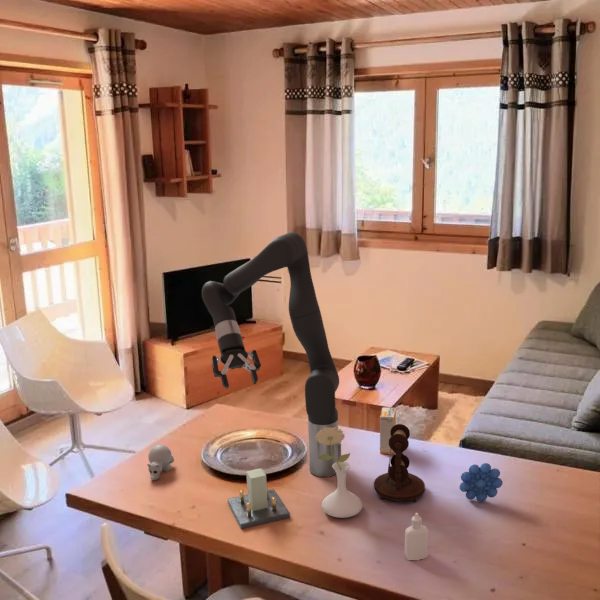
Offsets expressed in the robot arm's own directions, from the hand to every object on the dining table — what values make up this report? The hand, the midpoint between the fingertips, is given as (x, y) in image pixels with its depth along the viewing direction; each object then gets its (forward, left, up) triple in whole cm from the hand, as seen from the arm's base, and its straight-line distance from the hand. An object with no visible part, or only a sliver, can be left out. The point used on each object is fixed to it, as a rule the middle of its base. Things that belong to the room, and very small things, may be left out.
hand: (241, 385), depth 202 cm
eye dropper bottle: (-28, +55, -31) cm, 69 cm away
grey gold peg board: (+2, +19, -31) cm, 36 cm away
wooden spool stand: (-39, +26, -31) cm, 56 cm away
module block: (+2, +19, -29) cm, 35 cm away
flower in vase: (-19, +28, -31) cm, 46 cm away
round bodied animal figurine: (+24, -15, -31) cm, 42 cm away
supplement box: (-49, 0, -31) cm, 58 cm away
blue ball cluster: (-58, +39, -31) cm, 76 cm away
